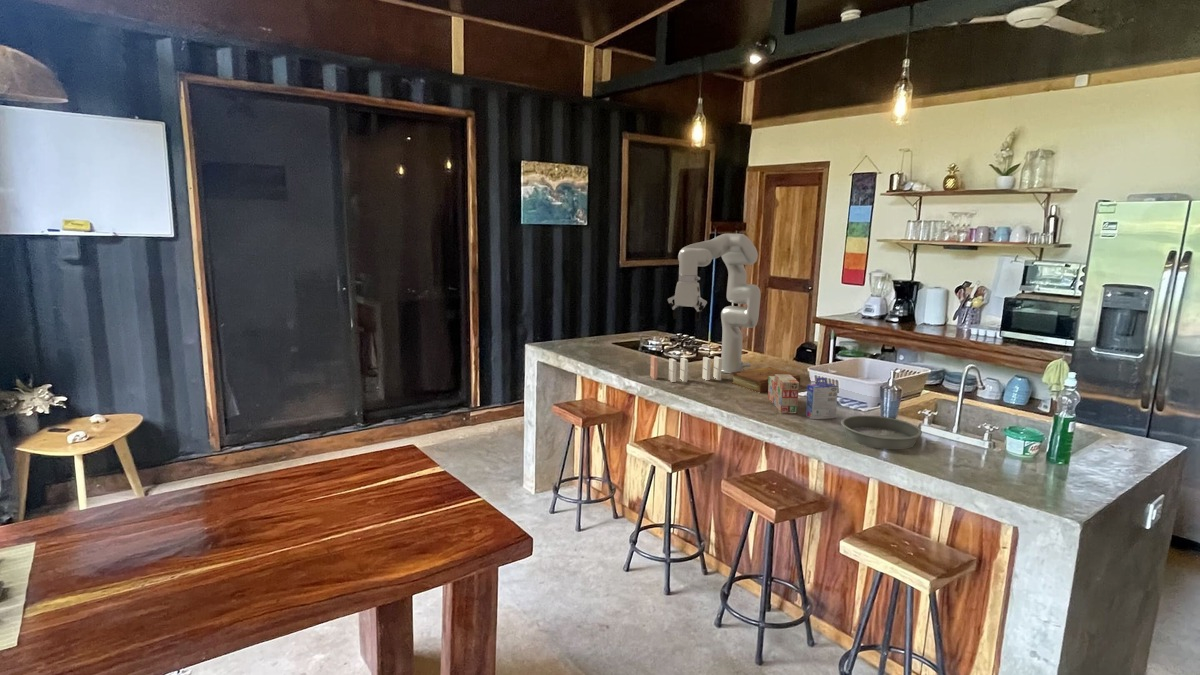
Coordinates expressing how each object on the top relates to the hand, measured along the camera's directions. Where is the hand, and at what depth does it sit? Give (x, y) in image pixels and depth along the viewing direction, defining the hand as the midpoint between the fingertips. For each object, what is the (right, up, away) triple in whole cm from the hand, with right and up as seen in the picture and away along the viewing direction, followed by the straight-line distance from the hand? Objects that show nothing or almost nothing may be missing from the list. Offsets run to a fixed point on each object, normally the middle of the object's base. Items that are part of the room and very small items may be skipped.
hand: (686, 319), depth 264 cm
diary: (+37, -29, +14) cm, 49 cm away
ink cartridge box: (+45, -37, -31) cm, 66 cm away
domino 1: (+2, -27, +20) cm, 34 cm away
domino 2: (+12, -27, +23) cm, 37 cm away
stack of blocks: (+35, -34, -17) cm, 52 cm away
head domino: (-4, -27, +19) cm, 33 cm away
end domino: (+18, -26, +25) cm, 40 cm away
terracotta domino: (-12, -26, +25) cm, 38 cm away
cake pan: (+57, -42, -54) cm, 89 cm away
